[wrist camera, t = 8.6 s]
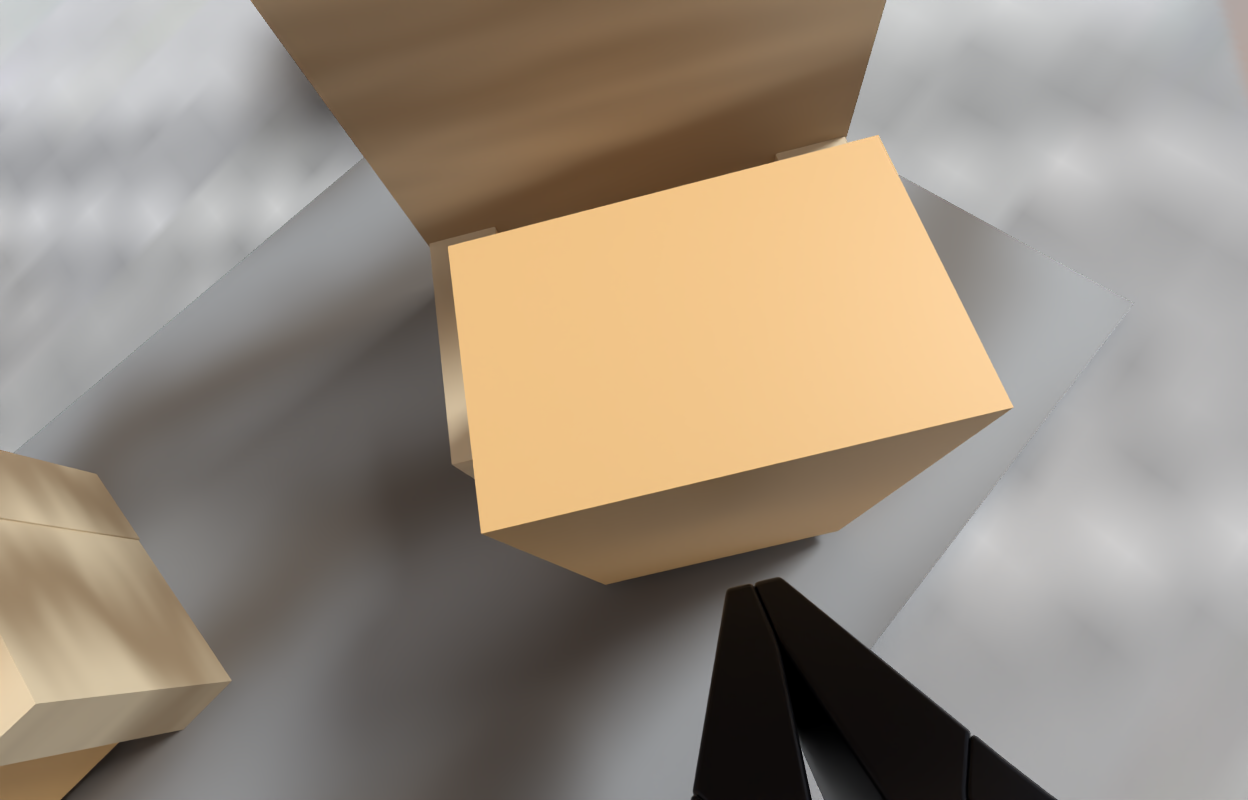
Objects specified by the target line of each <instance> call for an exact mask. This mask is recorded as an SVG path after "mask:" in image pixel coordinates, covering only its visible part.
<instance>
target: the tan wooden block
mask: <svg viewBox="0 0 1248 800" xmlns="http://www.w3.org/2000/svg"><path fill="white" fill-rule="evenodd" d="M448 253H449V261H450V270H451V279H452V287H453V296H454V304H455V313H456V322H457V330H458V339H459V347H460V356H461V365H462V373H463V382H464V391H465V399H466V408H467V416H468V425H469V434H470V442H471V451H472V459H473V468H474V477H475V485H476V494H477V502H478V511H479V520H480V528H481V534H483V535H486V536H488V537H490V538H493V539H495V540H498V541H500V542H503V543H505V544H507V545H510V546H512V547H515V548H517V549H519V550H522V551H524V552H527V553H529V554H532V555H534V556H536V557H539V558H541V559H544V560H546V561H549V562H551V563H553V564H556V565H558V566H561V567H563V568H566V569H568V570H570V571H573V572H575V573H578V574H580V575H583V576H585V577H587V578H590V579H592V580H595V581H597V582H600V583H602V584H604V585H607V584H611V583H615V582H620V581H624V580H628V579H633V578H637V577H641V576H646V575H650V574H654V573H658V572H663V571H667V570H671V569H676V568H680V567H684V566H689V565H693V564H697V563H702V562H706V561H710V560H715V559H719V558H723V557H728V556H732V555H736V554H741V553H745V552H749V551H754V550H758V549H762V548H767V547H771V546H775V545H779V544H784V543H788V542H792V541H797V540H801V539H805V538H810V537H814V536H818V535H823V534H827V533H831V532H836V531H839V530H840V529H842V528H843V527H844V526H846V525H847V524H849V523H850V522H852V521H853V520H854V519H856V518H857V517H859V516H860V515H862V514H863V513H864V512H866V511H867V510H869V509H870V508H871V507H873V506H874V505H876V504H877V503H879V502H880V501H881V500H883V499H884V498H886V497H887V496H889V495H890V494H891V493H893V492H894V491H896V490H897V489H898V488H900V487H901V486H903V485H904V484H906V483H907V482H908V481H910V480H911V479H913V478H914V477H916V476H917V475H918V474H920V473H921V472H923V471H924V470H925V469H927V468H928V467H930V466H931V465H933V464H934V463H935V462H937V461H938V460H940V459H941V458H943V457H944V456H945V455H947V454H948V453H950V452H951V451H952V450H954V449H955V448H957V447H958V446H960V445H961V444H962V443H964V442H965V441H967V440H968V439H970V438H971V437H972V436H974V435H975V434H977V433H978V432H979V431H981V430H982V429H984V428H985V427H987V426H988V425H989V424H991V423H992V422H994V421H995V420H997V419H998V418H999V417H1001V416H1002V415H1004V414H1005V413H1006V412H1008V411H1009V410H1011V409H1012V408H1014V407H1013V405H1012V403H1011V401H1010V399H1009V397H1008V395H1007V393H1006V391H1005V389H1004V387H1003V385H1002V383H1001V381H1000V379H999V377H998V375H997V373H996V371H995V369H994V367H993V365H992V363H991V361H990V359H989V357H988V355H987V353H986V351H985V349H984V347H983V345H982V343H981V341H980V339H979V336H978V334H977V332H976V330H975V328H974V326H973V324H972V322H971V320H970V318H969V316H968V314H967V312H966V310H965V308H964V306H963V304H962V302H961V300H960V298H959V296H958V294H957V292H956V290H955V288H954V286H953V284H952V282H951V280H950V278H949V276H948V274H947V272H946V270H945V268H944V266H943V264H942V262H941V260H940V258H939V256H938V254H937V252H936V250H935V248H934V246H933V244H932V242H931V240H930V238H929V236H928V234H927V232H926V230H925V228H924V226H923V224H922V222H921V220H920V218H919V216H918V214H917V212H916V210H915V208H914V206H913V204H912V202H911V200H910V198H909V196H908V194H907V192H906V190H905V188H904V186H903V184H902V182H901V180H900V178H899V176H898V174H897V172H896V170H895V167H894V165H893V163H892V161H891V159H890V157H889V155H888V153H887V151H886V149H885V147H884V145H883V143H882V141H881V139H880V137H879V135H877V136H873V137H869V138H865V139H861V140H857V141H853V142H849V143H846V144H842V145H838V146H834V147H830V148H826V149H822V150H818V151H815V152H811V153H807V154H803V155H799V156H795V157H791V158H788V159H784V160H780V161H776V162H772V163H768V164H764V165H760V166H757V167H753V168H749V169H745V170H741V171H737V172H733V173H729V174H726V175H722V176H718V177H714V178H710V179H706V180H702V181H699V182H695V183H691V184H687V185H683V186H679V187H675V188H671V189H668V190H664V191H660V192H656V193H652V194H648V195H644V196H640V197H637V198H633V199H629V200H625V201H621V202H617V203H613V204H610V205H606V206H602V207H598V208H594V209H590V210H586V211H582V212H579V213H575V214H571V215H567V216H563V217H559V218H555V219H551V220H548V221H544V222H540V223H536V224H532V225H528V226H524V227H520V228H517V229H513V230H509V231H505V232H501V233H497V234H493V235H490V236H486V237H482V238H478V239H474V240H470V241H466V242H462V243H459V244H455V245H451V246H448Z"/></svg>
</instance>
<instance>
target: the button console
mask: <svg viewBox="0 0 1248 800" xmlns="http://www.w3.org/2000/svg"><path fill="white" fill-rule="evenodd" d="M251 2H252V3H253V4H254V6H255V7H256V9H257V10H258V11H259V13H260V14H261V16H262V17H263V18H264V20H265V21H266V22H267V24H268V25H269V27H270V28H271V29H272V31H273V32H274V33H275V35H276V36H277V38H278V39H279V40H280V42H281V43H282V44H283V46H284V47H285V49H286V50H287V51H288V53H289V54H290V56H291V57H292V58H293V60H294V61H295V62H296V64H297V65H298V67H299V68H300V69H301V71H302V72H303V73H304V75H305V76H306V78H307V79H308V80H309V82H310V83H311V84H312V86H313V87H314V89H315V90H316V91H317V93H318V94H319V96H320V97H321V98H322V100H323V101H324V102H325V104H326V105H327V107H328V108H329V109H330V111H331V112H332V113H333V115H334V116H335V118H336V119H337V120H338V122H339V123H340V124H341V126H342V127H343V129H344V130H345V131H346V133H347V134H348V135H349V137H350V138H351V140H352V141H353V142H354V144H355V145H356V147H357V148H358V149H359V151H360V152H361V153H362V155H363V156H364V158H363V159H361V160H360V161H359V162H358V163H357V164H355V165H354V166H353V167H352V168H351V169H349V170H348V171H347V172H346V173H345V174H344V175H342V176H341V177H340V178H339V179H338V180H336V181H335V182H334V183H333V184H332V185H331V186H329V187H328V188H327V189H326V190H325V191H323V192H322V193H321V194H320V195H319V196H317V197H316V198H315V199H314V200H313V201H312V202H310V203H309V204H308V205H307V206H306V207H304V208H303V209H302V210H301V211H300V212H299V213H297V214H296V215H295V216H294V217H293V218H291V219H290V220H289V221H288V222H287V223H285V224H284V225H283V226H282V227H281V228H280V229H278V230H277V231H276V232H275V233H274V234H272V235H271V236H270V237H269V238H268V239H267V240H265V241H264V242H263V243H262V244H261V245H259V246H258V247H257V248H256V249H255V250H253V251H252V252H251V253H250V254H249V255H248V256H246V257H245V258H244V259H243V260H242V261H240V262H239V263H238V264H237V265H236V266H235V267H233V268H232V269H231V270H230V271H229V272H227V273H226V274H225V275H224V276H223V277H221V278H220V279H219V280H218V281H217V282H216V283H214V284H213V285H212V286H211V287H210V288H208V289H207V290H206V291H205V292H204V293H202V294H201V295H200V296H199V297H198V298H197V299H195V300H194V301H193V302H192V303H191V304H189V305H188V306H187V307H186V308H185V309H184V310H182V311H181V312H180V313H179V314H178V315H176V316H175V317H174V318H173V319H172V320H170V321H169V322H168V323H167V324H166V325H165V326H163V327H162V328H161V329H160V330H159V331H157V332H156V333H155V334H154V335H153V336H152V337H150V338H149V339H148V340H147V341H146V342H144V343H143V344H142V345H141V346H140V347H138V348H137V349H136V350H135V351H134V352H133V353H131V354H130V355H129V356H128V357H127V358H125V359H124V360H123V361H122V362H121V363H120V364H118V365H117V366H116V367H115V368H114V369H112V370H111V371H110V372H109V373H108V374H106V375H105V376H104V377H103V378H102V379H101V380H99V381H98V382H97V383H96V384H95V385H93V386H92V387H91V388H90V389H89V390H88V391H86V392H85V393H84V394H83V395H82V396H80V397H79V398H78V399H77V400H76V401H74V402H73V403H72V404H71V405H70V406H69V407H67V408H66V409H65V410H64V411H63V412H61V413H60V414H59V415H58V416H57V417H56V418H54V419H53V420H52V421H51V422H50V423H48V424H47V425H46V426H45V427H44V428H42V429H41V430H40V431H39V432H38V433H37V434H35V435H34V436H33V437H32V438H31V439H29V440H28V441H27V442H26V443H25V444H24V445H22V446H21V447H20V448H19V449H18V450H16V451H15V452H14V453H10V452H6V451H2V450H0V766H3V765H8V764H13V763H18V762H23V761H28V760H33V759H38V758H43V757H48V756H53V755H58V754H63V753H68V752H73V751H78V750H83V749H88V748H93V747H98V746H103V745H108V744H113V743H118V742H119V743H118V744H117V745H116V746H115V747H114V748H113V749H112V750H111V751H110V752H109V753H108V754H107V755H106V756H105V757H104V758H103V759H102V760H101V761H100V762H98V763H97V764H96V765H95V766H94V767H93V768H92V769H91V770H90V771H89V772H88V773H87V774H86V775H85V776H84V777H83V778H82V779H81V780H80V781H79V782H78V783H77V784H76V785H75V786H74V787H73V788H72V789H71V790H70V791H69V792H68V793H67V794H66V795H65V796H64V797H63V798H62V799H61V800H691V797H692V796H693V785H694V779H695V773H696V767H697V761H698V755H699V749H700V743H701V737H702V731H703V725H704V719H705V713H706V707H707V701H708V695H709V689H710V684H711V678H712V672H713V666H714V660H715V654H716V648H717V642H718V636H719V630H720V624H721V618H722V612H723V606H724V600H725V594H726V591H727V589H728V588H731V587H735V586H740V585H744V584H752V585H753V586H755V583H756V582H758V581H762V580H766V579H770V578H775V577H780V578H783V579H784V580H785V581H786V582H788V583H789V584H790V585H791V586H793V587H794V588H795V589H796V590H797V591H799V592H800V593H801V594H802V595H804V596H805V597H806V598H807V599H808V600H810V601H811V602H812V603H813V604H815V605H816V606H817V607H818V608H820V609H821V610H822V611H823V612H824V613H826V614H827V615H828V616H829V617H831V618H832V619H833V620H834V621H835V622H837V623H838V624H839V625H840V626H842V627H843V628H844V629H845V630H847V631H848V632H849V633H850V634H851V635H853V636H854V637H855V638H856V639H858V640H859V641H860V642H861V643H862V644H864V645H865V646H866V647H867V648H869V649H871V648H872V647H873V645H874V644H875V643H876V641H877V640H878V639H879V638H880V636H881V635H882V634H883V632H884V631H885V630H886V628H887V627H888V626H889V624H890V623H891V622H892V620H893V619H894V618H895V617H896V615H897V614H898V613H899V611H900V610H901V609H902V607H903V606H904V605H905V603H906V602H907V601H908V599H909V598H910V597H911V596H912V594H913V593H914V592H915V590H916V589H917V588H918V586H919V585H920V584H921V582H922V581H923V580H924V578H925V577H926V576H927V575H928V573H929V572H930V571H931V569H932V568H933V567H934V565H935V564H936V563H937V561H938V560H939V559H940V557H941V556H942V555H943V554H944V552H945V551H946V550H947V548H948V547H949V546H950V544H951V543H952V542H953V540H954V539H955V538H956V536H957V535H958V534H959V533H960V531H961V530H962V529H963V527H964V526H965V525H966V523H967V522H968V521H969V519H970V518H971V517H972V516H973V514H974V513H975V512H976V510H977V509H978V508H979V506H980V505H981V504H982V502H983V501H984V500H985V498H986V497H987V496H988V495H989V493H990V492H991V491H992V489H993V488H994V487H995V485H996V484H997V483H998V481H999V480H1000V479H1001V477H1002V476H1003V475H1004V474H1005V472H1006V471H1007V470H1008V468H1009V467H1010V466H1011V464H1012V463H1013V462H1014V460H1015V459H1016V458H1017V456H1018V455H1019V454H1020V453H1021V451H1022V450H1023V449H1024V447H1025V446H1026V445H1027V443H1028V442H1029V441H1030V439H1031V438H1032V437H1033V435H1034V434H1035V433H1036V432H1037V430H1038V429H1039V428H1040V426H1041V425H1042V424H1043V422H1044V421H1045V420H1046V418H1047V417H1048V416H1049V414H1050V413H1051V412H1052V411H1053V409H1054V408H1055V407H1056V405H1057V404H1058V403H1059V401H1060V400H1061V399H1062V397H1063V396H1064V395H1065V393H1066V392H1067V391H1068V390H1069V388H1070V387H1071V386H1072V384H1073V383H1074V382H1075V380H1076V379H1077V378H1078V376H1079V375H1080V374H1081V372H1082V371H1083V370H1084V369H1085V367H1086V366H1087V365H1088V363H1089V362H1090V361H1091V359H1092V358H1093V357H1094V355H1095V354H1096V353H1097V352H1098V350H1099V349H1100V348H1101V346H1102V345H1103V344H1104V342H1105V341H1106V340H1107V338H1108V337H1109V336H1110V334H1111V333H1112V332H1113V331H1114V329H1115V328H1116V327H1117V325H1118V324H1119V323H1120V321H1121V320H1122V319H1123V317H1124V316H1125V315H1126V313H1127V312H1128V311H1129V310H1130V308H1131V307H1132V306H1133V304H1134V303H1133V302H1131V301H1129V300H1127V299H1125V298H1124V297H1122V296H1120V295H1118V294H1116V293H1114V292H1113V291H1111V290H1109V289H1107V288H1105V287H1103V286H1102V285H1100V284H1098V283H1096V282H1094V281H1093V280H1091V279H1089V278H1087V277H1085V276H1083V275H1082V274H1080V273H1078V272H1076V271H1074V270H1072V269H1071V268H1069V267H1067V266H1065V265H1063V264H1061V263H1060V262H1058V261H1056V260H1054V259H1052V258H1050V257H1049V256H1047V255H1045V254H1043V253H1041V252H1039V251H1038V250H1036V249H1034V248H1032V247H1030V246H1028V245H1027V244H1025V243H1023V242H1021V241H1019V240H1017V239H1016V238H1014V237H1012V236H1010V235H1008V234H1006V233H1005V232H1003V231H1001V230H999V229H997V228H995V227H994V226H992V225H990V224H988V223H986V222H984V221H983V220H981V219H979V218H977V217H975V216H973V215H972V214H970V213H968V212H966V211H964V210H962V209H961V208H959V207H957V206H955V205H953V204H951V203H950V202H948V201H946V200H944V199H942V198H940V197H939V196H937V195H935V194H933V193H931V192H929V191H928V190H926V189H924V188H922V187H920V186H918V185H917V184H915V183H913V182H911V181H909V180H907V179H906V178H904V177H902V176H900V175H898V176H899V178H900V180H901V182H902V184H903V186H904V188H905V190H906V192H907V194H908V196H909V198H910V200H911V202H912V204H913V206H914V208H915V210H916V212H917V214H918V216H919V218H920V220H921V222H922V224H923V226H924V228H925V230H926V232H927V234H928V236H929V238H930V240H931V242H932V244H933V246H934V248H935V250H936V252H937V254H938V256H939V258H940V260H941V262H942V264H943V266H944V268H945V270H946V272H947V274H948V276H949V278H950V280H951V282H952V284H953V286H954V288H955V290H956V292H957V294H958V296H959V298H960V300H961V302H962V304H963V306H964V308H965V310H966V312H967V314H968V316H969V318H970V320H971V322H972V324H973V326H974V328H975V330H976V332H977V334H978V336H979V339H980V341H981V343H982V345H983V347H984V349H985V351H986V353H987V355H988V357H989V359H990V361H991V363H992V365H993V367H994V369H995V371H996V373H997V375H998V377H999V379H1000V381H1001V383H1002V385H1003V387H1004V389H1005V391H1006V393H1007V395H1008V397H1009V399H1010V401H1011V403H1012V405H1013V407H1014V408H1012V409H1011V410H1009V411H1008V412H1006V413H1005V414H1004V415H1002V416H1001V417H999V418H998V419H997V420H995V421H994V422H992V423H991V424H989V425H988V426H987V427H985V428H984V429H982V430H981V431H979V432H978V433H977V434H975V435H974V436H972V437H971V438H970V439H968V440H967V441H965V442H964V443H962V444H961V445H960V446H958V447H957V448H955V449H954V450H952V451H951V452H950V453H948V454H947V455H945V456H944V457H943V458H941V459H940V460H938V461H937V462H935V463H934V464H933V465H931V466H930V467H928V468H927V469H925V470H924V471H923V472H921V473H920V474H918V475H917V476H916V477H914V478H913V479H911V480H910V481H908V482H907V483H906V484H904V485H903V486H901V487H900V488H898V489H897V490H896V491H894V492H893V493H891V494H890V495H889V496H887V497H886V498H884V499H883V500H881V501H880V502H879V503H877V504H876V505H874V506H873V507H871V508H870V509H869V510H867V511H866V512H864V513H863V514H862V515H860V516H859V517H857V518H856V519H854V520H853V521H852V522H850V523H849V524H847V525H846V526H844V527H843V528H842V529H840V530H839V531H836V532H831V533H827V534H823V535H818V536H814V537H810V538H805V539H801V540H797V541H792V542H788V543H784V544H779V545H775V546H771V547H767V548H762V549H758V550H754V551H749V552H745V553H741V554H736V555H732V556H728V557H723V558H719V559H715V560H710V561H706V562H702V563H697V564H693V565H689V566H684V567H680V568H676V569H671V570H667V571H663V572H658V573H654V574H650V575H646V576H641V577H637V578H633V579H628V580H624V581H620V582H615V583H611V584H607V585H604V584H602V583H600V582H597V581H595V580H592V579H590V578H587V577H585V576H583V575H580V574H578V573H575V572H573V571H570V570H568V569H566V568H563V567H561V566H558V565H556V564H553V563H551V562H549V561H546V560H544V559H541V558H539V557H536V556H534V555H532V554H529V553H527V552H524V551H522V550H519V549H517V548H515V547H512V546H510V545H507V544H505V543H503V542H500V541H498V540H495V539H493V538H490V537H488V536H486V535H483V534H481V528H480V520H479V511H478V502H477V494H476V485H475V477H474V468H473V459H472V451H471V442H470V434H469V425H468V416H467V408H466V399H465V391H464V382H463V373H462V365H461V356H460V347H459V339H458V330H457V322H456V313H455V304H454V296H453V287H452V279H451V270H450V261H449V253H448V246H451V245H455V244H459V243H462V242H466V241H470V240H474V239H478V238H482V237H486V236H490V235H493V234H497V233H501V232H505V231H509V230H513V229H517V228H520V227H524V226H528V225H532V224H536V223H540V222H544V221H548V220H551V219H555V218H559V217H563V216H567V215H571V214H575V213H579V212H582V211H586V210H590V209H594V208H598V207H602V206H606V205H610V204H613V203H617V202H621V201H625V200H629V199H633V198H637V197H640V196H644V195H648V194H652V193H656V192H660V191H664V190H668V189H671V188H675V187H679V186H683V185H687V184H691V183H695V182H699V181H702V180H706V179H710V178H714V177H718V176H722V175H726V174H729V173H733V172H737V171H741V170H745V169H749V168H753V167H757V166H760V165H764V164H768V163H772V162H776V161H780V160H784V159H788V158H791V157H795V156H799V155H803V154H807V153H811V152H815V151H818V150H822V149H826V148H830V147H834V146H838V145H842V144H846V143H848V142H847V140H846V136H847V133H848V130H849V126H850V123H851V119H852V116H853V112H854V109H855V106H856V102H857V99H858V95H859V92H860V89H861V85H862V82H863V78H864V75H865V71H866V68H867V65H868V61H869V58H870V54H871V51H872V47H873V44H874V41H875V37H876V34H877V30H878V27H879V23H880V20H881V17H882V13H883V10H884V6H885V3H886V0H251Z"/></svg>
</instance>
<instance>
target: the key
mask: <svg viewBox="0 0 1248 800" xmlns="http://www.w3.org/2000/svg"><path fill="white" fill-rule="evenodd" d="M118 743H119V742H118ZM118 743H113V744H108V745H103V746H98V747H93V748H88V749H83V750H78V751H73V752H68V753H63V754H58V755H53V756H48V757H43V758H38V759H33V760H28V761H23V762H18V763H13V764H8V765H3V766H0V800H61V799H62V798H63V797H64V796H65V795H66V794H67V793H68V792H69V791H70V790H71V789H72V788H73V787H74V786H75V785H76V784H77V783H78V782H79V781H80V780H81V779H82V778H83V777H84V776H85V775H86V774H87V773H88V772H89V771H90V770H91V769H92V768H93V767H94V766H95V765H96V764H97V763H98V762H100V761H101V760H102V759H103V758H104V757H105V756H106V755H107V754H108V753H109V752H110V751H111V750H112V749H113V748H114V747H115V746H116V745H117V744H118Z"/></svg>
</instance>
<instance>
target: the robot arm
mask: <svg viewBox="0 0 1248 800" xmlns="http://www.w3.org/2000/svg"><path fill="white" fill-rule="evenodd" d="M801 749H802V750H801ZM802 751H803V753H804V756H805V758H806V760H807V762H808V765H809V767H810V769H811V771H812V774H813V776H814V778H815V780H816V783H817V785H818V787H819V789H820V792H821V794H822V796H823V798H824V800H1057V799H1056V798H1054V797H1053V796H1052V795H1050V794H1049V793H1048V792H1046V791H1045V790H1044V789H1042V788H1041V787H1040V786H1039V785H1037V784H1036V783H1035V782H1033V781H1032V780H1031V779H1030V778H1028V777H1027V776H1026V775H1024V774H1023V773H1022V772H1021V771H1019V770H1018V769H1017V768H1015V767H1014V766H1013V765H1012V764H1010V763H1009V762H1008V761H1006V760H1005V759H1004V758H1003V757H1001V756H1000V755H999V754H998V753H997V752H995V751H994V750H993V749H992V748H990V747H989V746H988V745H987V744H986V743H984V742H983V741H982V740H981V739H979V738H978V737H977V736H975V735H973V736H971V733H970V731H969V730H968V729H967V728H966V727H964V726H963V725H962V724H961V723H959V722H958V721H957V720H956V719H955V718H953V717H952V716H951V715H950V714H948V713H947V712H946V711H945V710H944V709H942V708H941V707H940V706H939V705H937V704H936V703H935V702H934V701H932V700H931V699H930V698H929V697H928V696H926V695H925V694H924V693H923V692H921V691H920V690H919V689H918V688H917V687H915V686H914V685H913V684H912V683H910V682H909V681H908V680H907V679H905V678H904V677H903V676H902V675H901V674H899V673H898V672H897V671H896V670H894V669H893V668H892V667H891V666H890V665H888V664H887V663H886V662H885V661H883V660H882V659H881V658H880V657H878V656H877V655H876V654H875V653H874V652H872V651H871V650H870V649H869V648H867V647H866V646H865V645H864V644H862V643H861V642H860V641H859V640H858V639H856V638H855V637H854V636H853V635H851V634H850V633H849V632H848V631H847V630H845V629H844V628H843V627H842V626H840V625H839V624H838V623H837V622H835V621H834V620H833V619H832V618H831V617H829V616H828V615H827V614H826V613H824V612H823V611H822V610H821V609H820V608H818V607H817V606H816V605H815V604H813V603H812V602H811V601H810V600H808V599H807V598H806V597H805V596H804V595H802V594H801V593H800V592H799V591H797V590H796V589H795V588H794V587H793V586H791V585H790V584H789V583H788V582H786V581H785V580H784V579H783V578H780V577H775V578H770V579H766V580H762V581H758V582H756V583H755V586H753V585H752V584H744V585H740V586H735V587H731V588H728V589H727V591H726V594H725V600H724V606H723V612H722V618H721V624H720V630H719V636H718V642H717V648H716V654H715V660H714V666H713V672H712V678H711V684H710V689H709V695H708V701H707V707H706V713H705V719H704V725H703V731H702V737H701V743H700V749H699V755H698V761H697V767H696V773H695V779H694V785H693V796H692V797H691V800H812V798H811V793H810V789H809V784H808V779H807V774H806V770H805V765H804V760H803V755H802Z"/></svg>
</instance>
